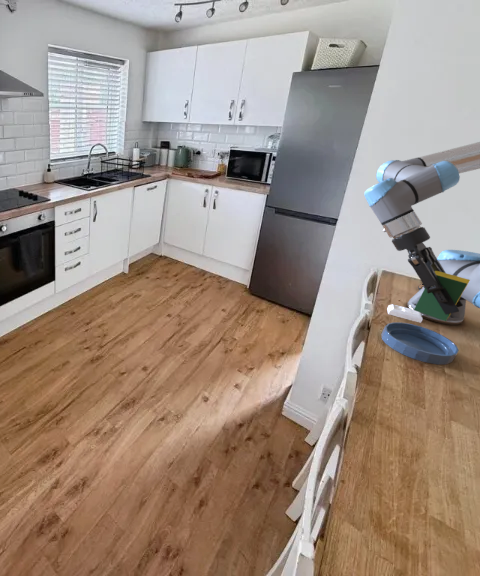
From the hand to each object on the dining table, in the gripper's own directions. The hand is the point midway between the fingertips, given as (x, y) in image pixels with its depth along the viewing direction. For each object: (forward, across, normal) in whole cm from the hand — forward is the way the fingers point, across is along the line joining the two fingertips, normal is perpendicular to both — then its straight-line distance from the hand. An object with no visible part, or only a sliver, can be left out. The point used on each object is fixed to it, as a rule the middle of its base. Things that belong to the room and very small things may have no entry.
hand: (454, 309), depth 97 cm
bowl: (+9, -4, -14) cm, 17 cm away
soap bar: (+4, -25, -20) cm, 32 cm away
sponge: (-1, 0, -5) cm, 5 cm away
